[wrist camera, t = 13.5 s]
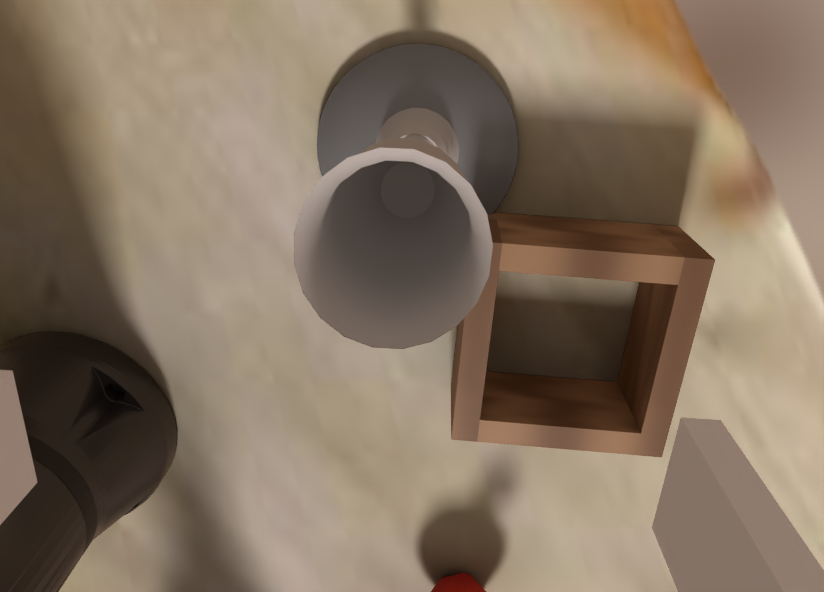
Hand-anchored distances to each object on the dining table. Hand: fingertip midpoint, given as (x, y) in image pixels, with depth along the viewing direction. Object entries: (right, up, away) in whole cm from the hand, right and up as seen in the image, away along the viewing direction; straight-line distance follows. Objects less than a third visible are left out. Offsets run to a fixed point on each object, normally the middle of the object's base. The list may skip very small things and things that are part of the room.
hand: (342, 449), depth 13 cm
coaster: (+2, +12, +26) cm, 29 cm away
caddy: (+11, +2, +30) cm, 32 cm away
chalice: (+2, +12, +26) cm, 28 cm away
